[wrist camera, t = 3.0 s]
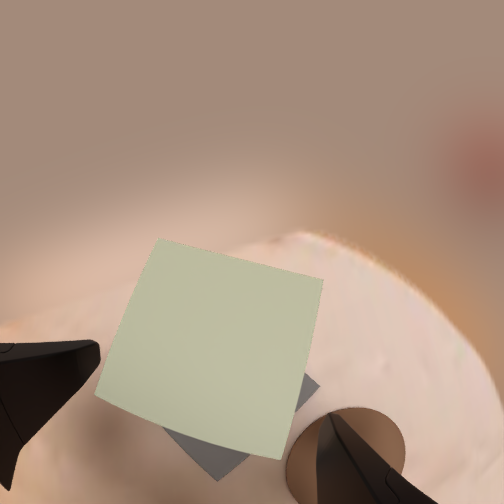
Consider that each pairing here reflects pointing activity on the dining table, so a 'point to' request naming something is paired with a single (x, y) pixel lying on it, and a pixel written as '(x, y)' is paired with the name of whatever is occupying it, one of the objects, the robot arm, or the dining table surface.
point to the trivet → (366, 425)
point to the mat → (222, 458)
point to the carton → (214, 348)
